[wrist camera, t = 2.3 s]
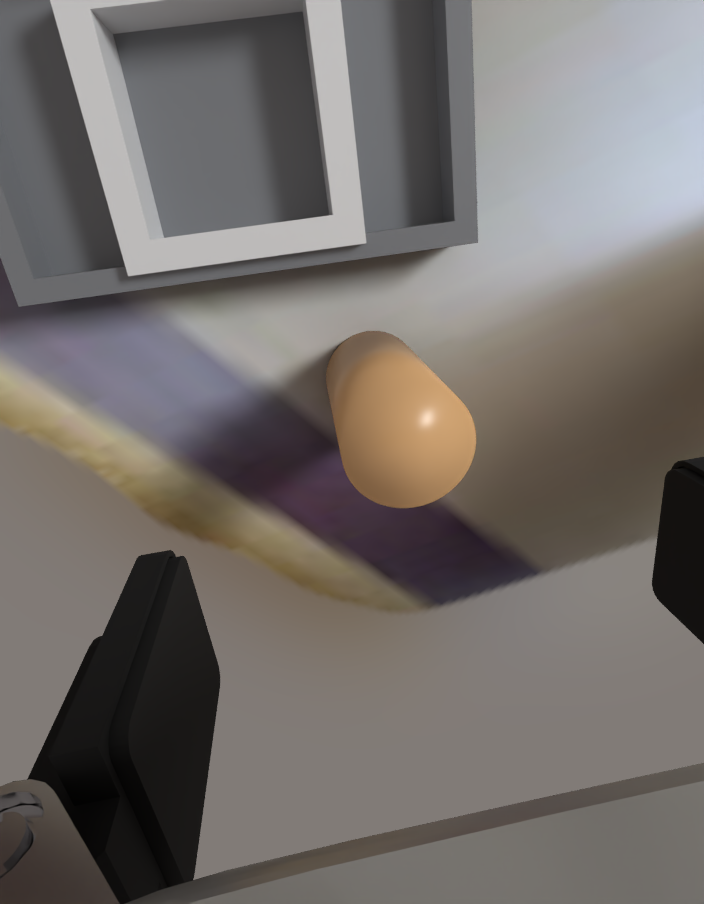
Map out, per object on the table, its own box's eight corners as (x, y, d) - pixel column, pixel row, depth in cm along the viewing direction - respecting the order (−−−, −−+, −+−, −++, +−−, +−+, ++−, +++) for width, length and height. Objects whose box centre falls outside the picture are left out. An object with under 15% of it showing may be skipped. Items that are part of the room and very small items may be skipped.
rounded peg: (414, 324, 22) (474, 371, 15) (420, 413, 23) (478, 497, 16) (319, 338, 22) (331, 392, 14) (332, 427, 23) (350, 517, 16)
